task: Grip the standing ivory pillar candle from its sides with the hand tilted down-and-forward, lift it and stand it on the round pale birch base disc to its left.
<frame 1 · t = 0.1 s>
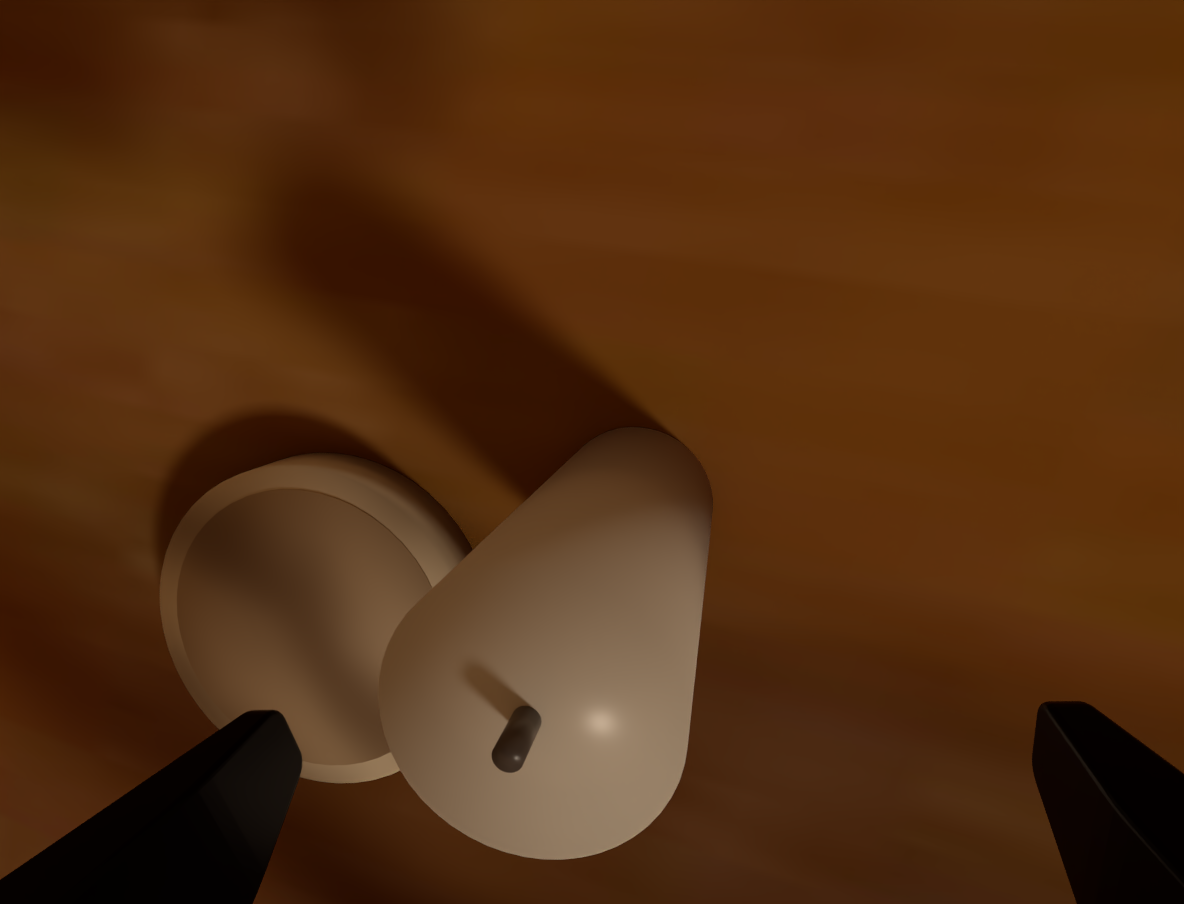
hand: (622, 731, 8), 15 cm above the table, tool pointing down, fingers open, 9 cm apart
candle: (635, 502, 24), on the table
base disc: (341, 606, 27), on the table
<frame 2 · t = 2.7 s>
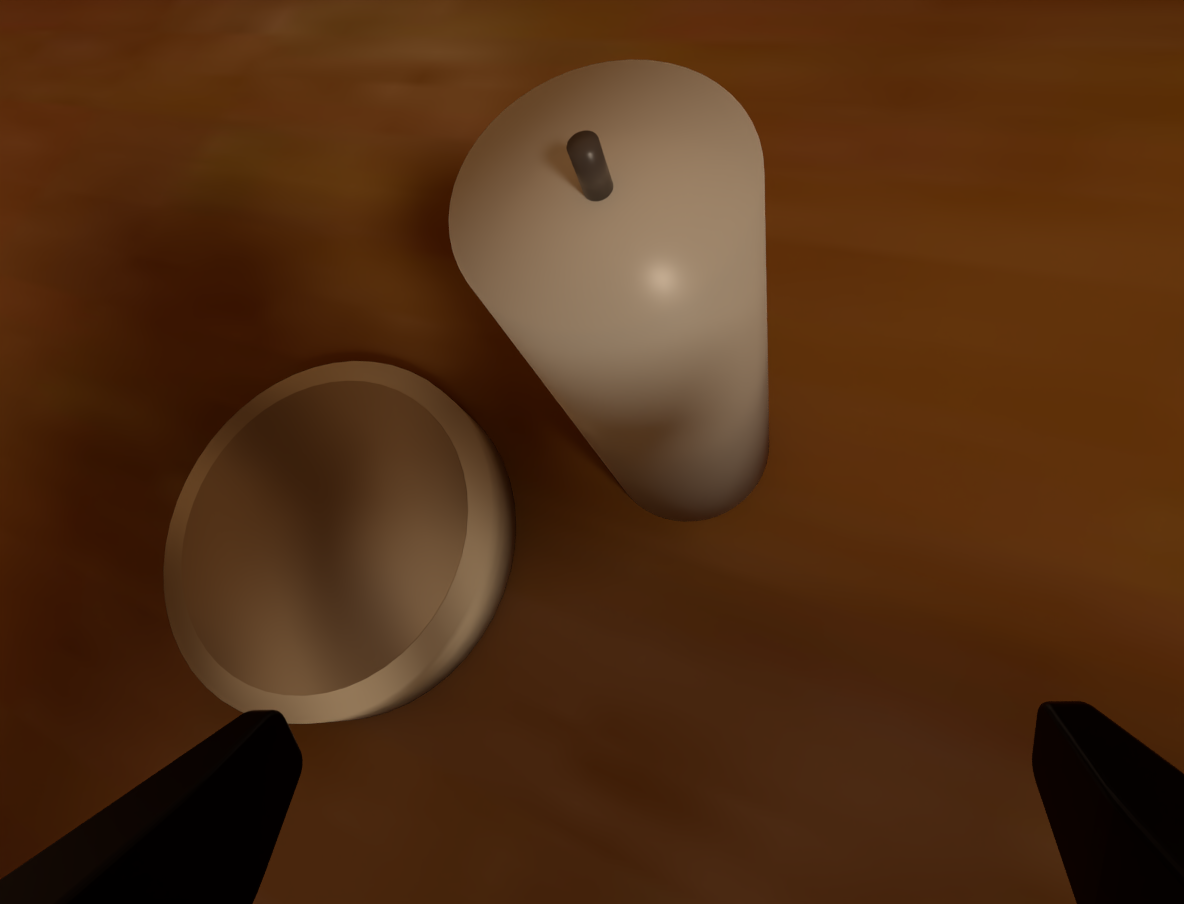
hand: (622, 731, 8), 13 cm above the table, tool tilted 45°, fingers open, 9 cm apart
candle: (688, 444, 23), on the table
base disc: (356, 540, 25), on the table
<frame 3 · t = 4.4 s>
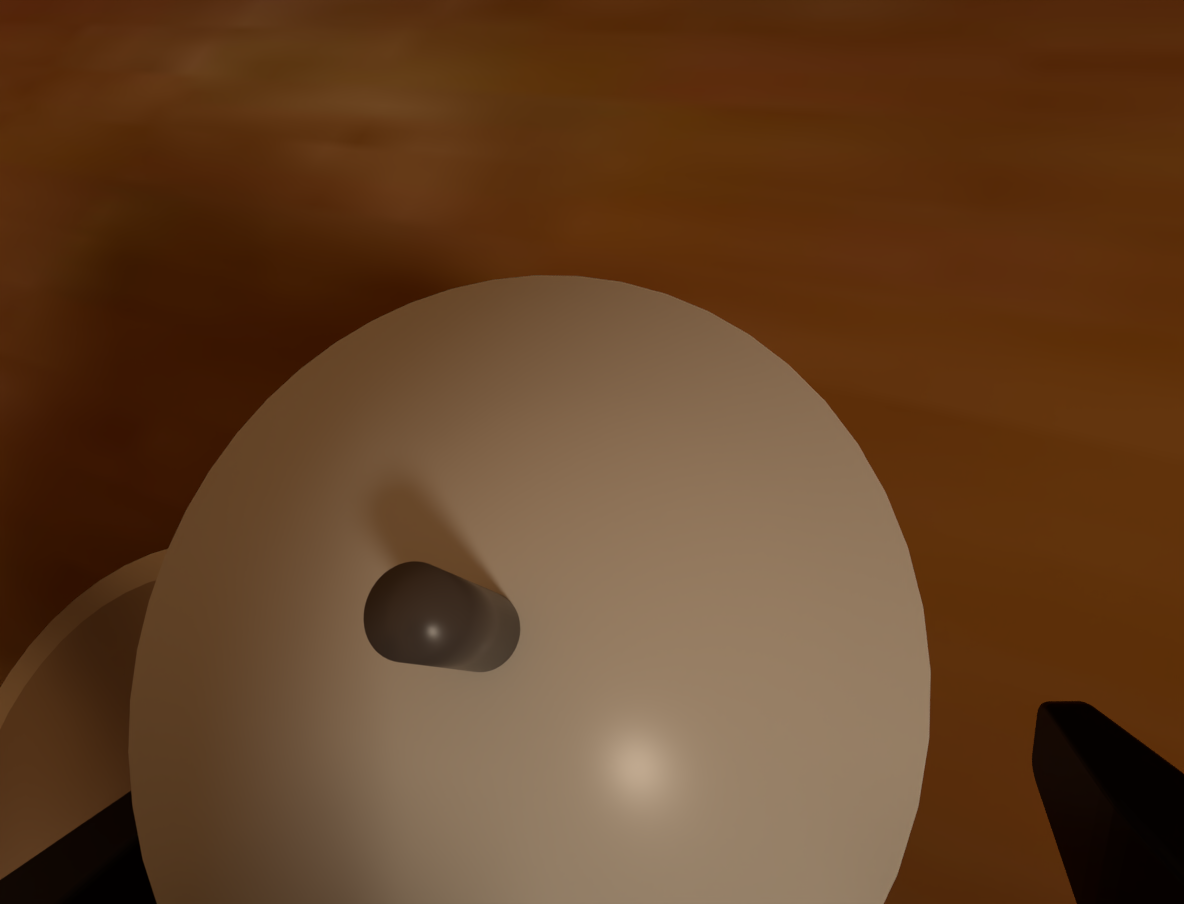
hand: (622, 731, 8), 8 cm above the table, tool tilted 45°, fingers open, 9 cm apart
candle: (691, 687, 16), on the table
base disc: (226, 790, 18), on the table
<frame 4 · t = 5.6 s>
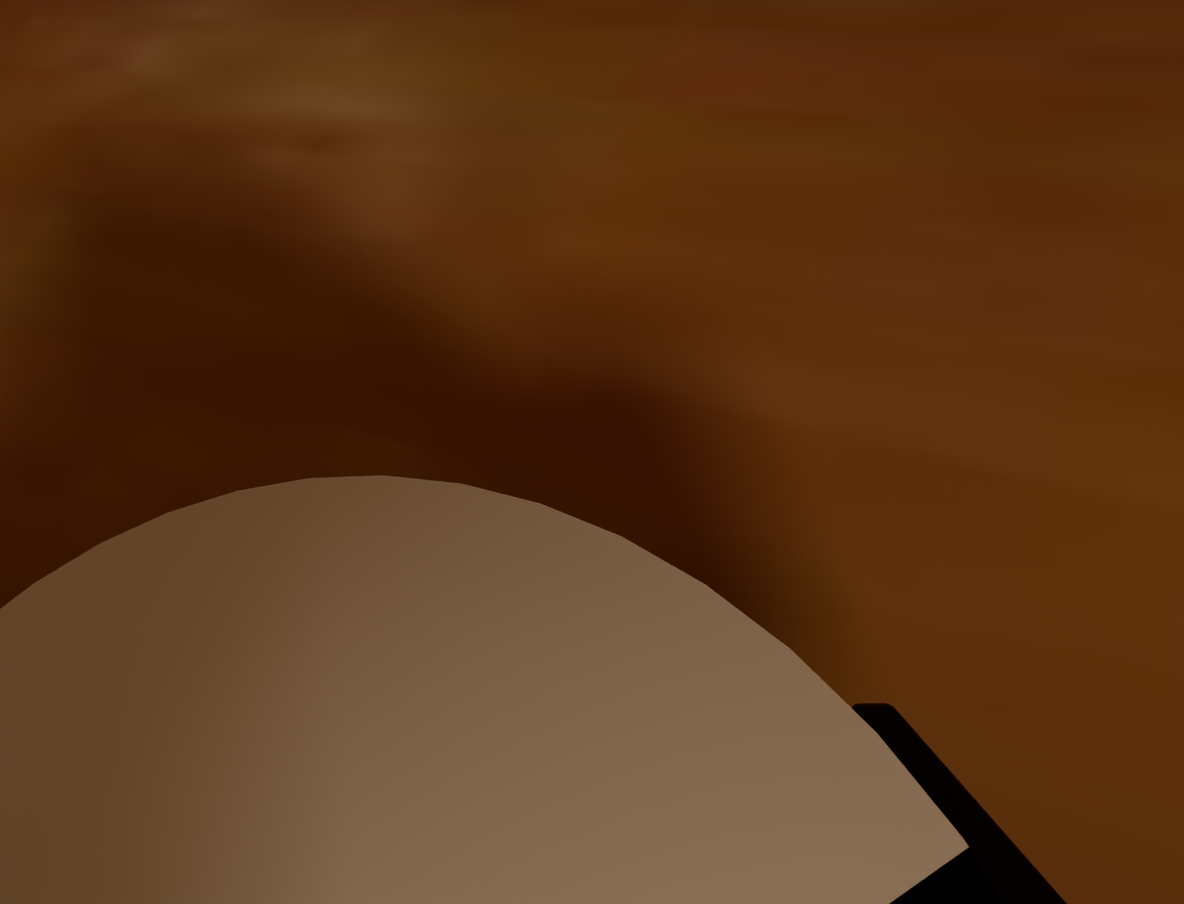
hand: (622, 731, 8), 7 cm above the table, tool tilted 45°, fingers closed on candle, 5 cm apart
candle: (687, 793, 14), on the table, touching gripper
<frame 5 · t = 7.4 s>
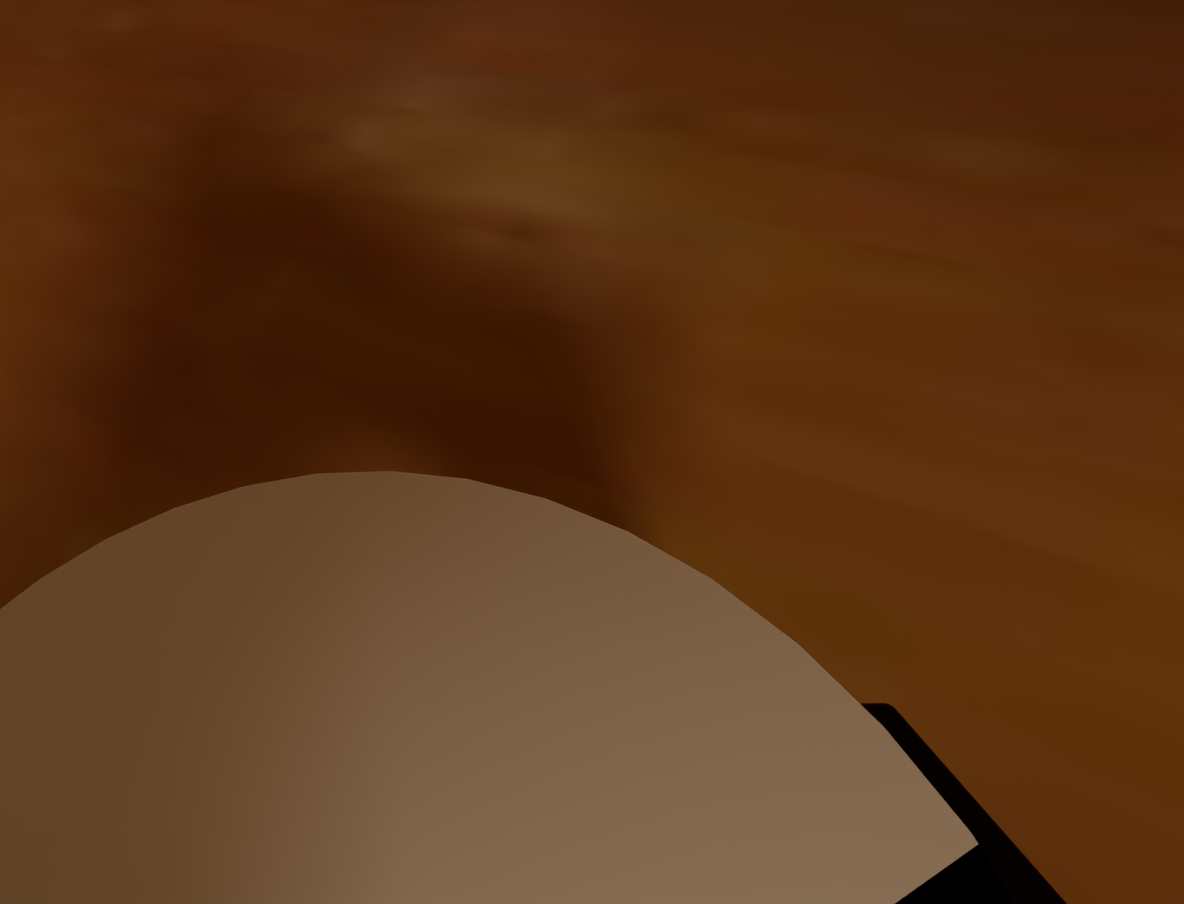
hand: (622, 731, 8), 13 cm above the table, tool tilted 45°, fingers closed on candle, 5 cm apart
candle: (688, 792, 14), point 7 cm above the table, touching gripper
when the fingers open (10 cm above the table, at t = 9.4 s): candle stays where it is, resting on base disc.
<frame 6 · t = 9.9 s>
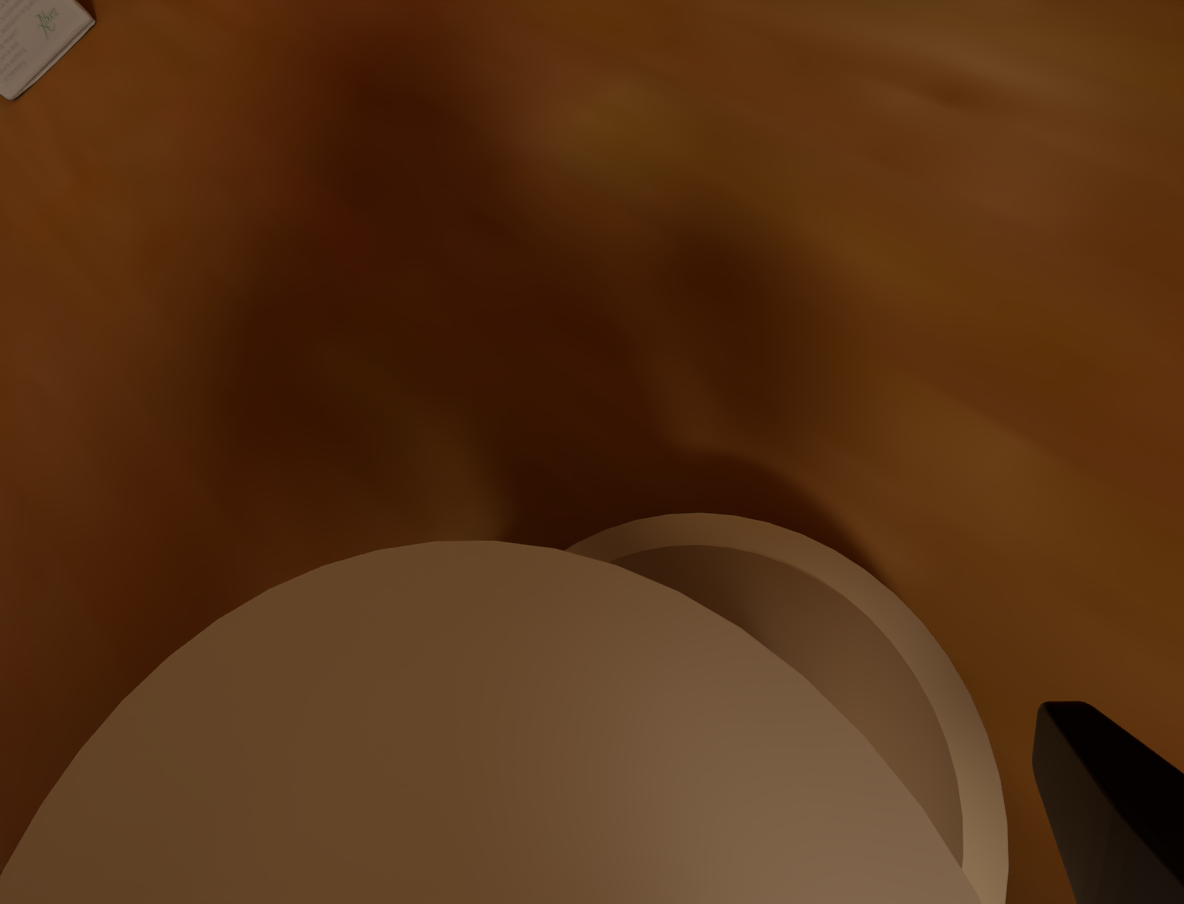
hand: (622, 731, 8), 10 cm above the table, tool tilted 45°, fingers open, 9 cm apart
candle: (691, 789, 15), point 2 cm above the table, touching base disc
base disc: (702, 776, 17), on the table
syrup box: (34, 47, 34), on the table
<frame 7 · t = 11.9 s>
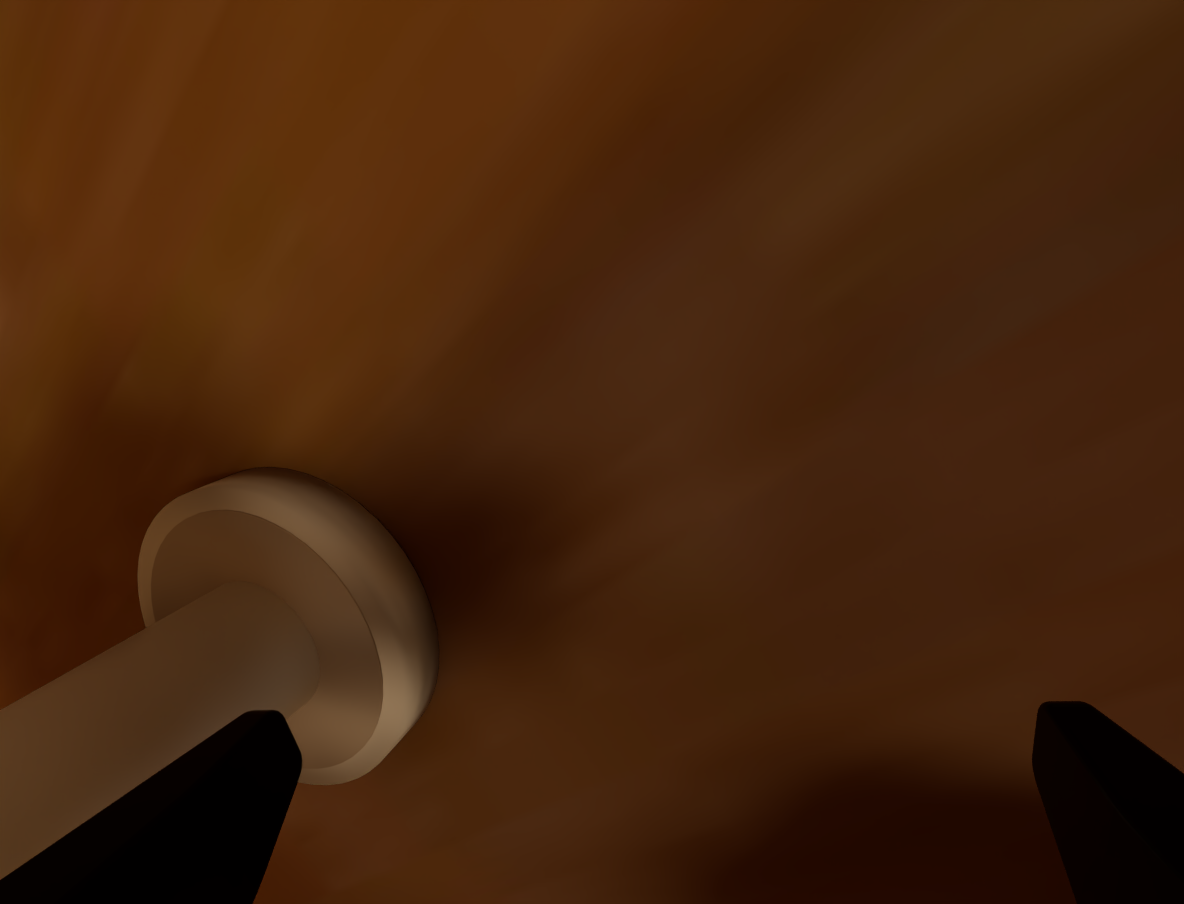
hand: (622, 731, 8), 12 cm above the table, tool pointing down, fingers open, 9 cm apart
candle: (260, 646, 25), point 2 cm above the table, touching base disc
base disc: (305, 614, 27), on the table
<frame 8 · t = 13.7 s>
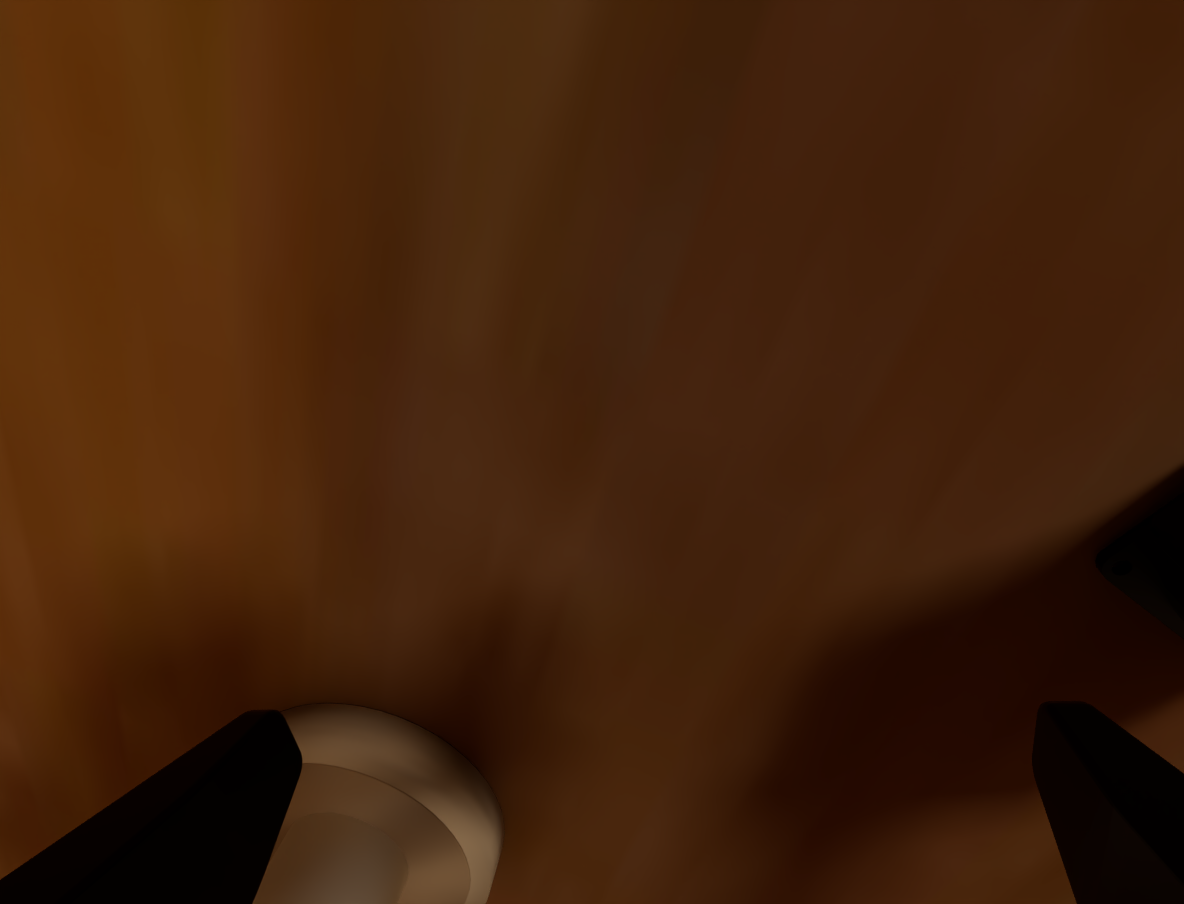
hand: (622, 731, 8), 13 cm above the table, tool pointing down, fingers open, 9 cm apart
candle: (347, 856, 29), point 2 cm above the table, touching base disc
base disc: (370, 806, 31), on the table
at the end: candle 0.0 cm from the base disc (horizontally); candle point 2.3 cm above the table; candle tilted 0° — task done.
